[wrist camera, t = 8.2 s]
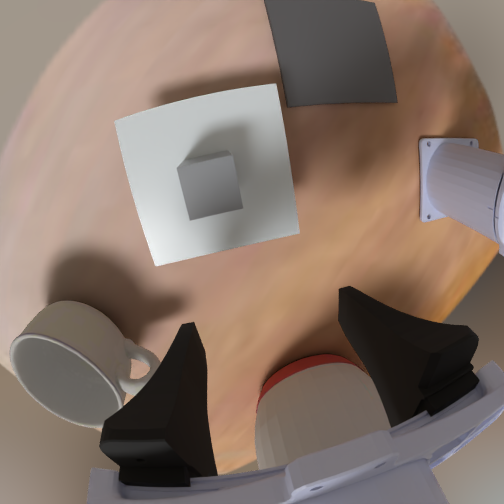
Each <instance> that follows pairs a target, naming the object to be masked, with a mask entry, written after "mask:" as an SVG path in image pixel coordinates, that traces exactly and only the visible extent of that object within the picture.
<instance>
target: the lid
mask: <svg viewBox="0 0 504 504" xmlns="http://www.w3.org/2000/svg"><path fill="white" fill-rule="evenodd" d="M114 122H115V127H116V131H117V136H118V140H119V145H120V149H121V153H122V157H123V161H124V165H125V169H126V173H127V177H128V180H129V184H130V188H131V191H132V195H133V198H134V201H135V205H136V208H137V212H138V215H139V218H140V221H141V224H142V228H143V231H144V234H145V237H146V240H147V243H148V246H149V249H150V252H151V254H152V257H153V260H154V263H155V266H160V265H164V264H168V263H172V262H177V261H181V260H185V259H190V258H194V257H198V256H202V255H207V254H211V253H215V252H220V251H224V250H228V249H233V248H237V247H242V246H246V245H250V244H255V243H259V242H263V241H268V240H272V239H277V238H281V237H286V236H290V235H294V234H299V233H300V232H299V224H298V216H297V208H296V201H295V194H294V186H293V180H292V173H291V166H290V160H289V153H288V147H287V141H286V135H285V129H284V123H283V118H282V112H281V107H280V101H279V96H278V91H277V86H276V84H267V85H259V86H252V87H245V88H239V89H233V90H227V91H222V92H216V93H211V94H207V95H202V96H197V97H193V98H189V99H185V100H181V101H177V102H173V103H169V104H166V105H162V106H158V107H155V108H152V109H148V110H145V111H142V112H139V113H136V114H133V115H130V116H127V117H124V118H121V119H118V120H115V121H114Z"/></svg>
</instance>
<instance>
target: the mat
mask: <svg viewBox="0 0 504 504" xmlns="http://www.w3.org/2000/svg"><path fill="white" fill-rule="evenodd" d="M264 3H265V7H266V11H267V15H268V19H269V23H270V27H271V31H272V35H273V40H274V44H275V49H276V53H277V58H278V63H279V67H280V72H281V77H282V82H283V87H284V92H285V98H286V103H287V108H288V107H297V106H307V105H319V104H335V103H364V102H386V103H398V102H397V96H396V89H395V83H394V78H393V72H392V67H391V62H390V58H389V53H388V49H387V45H386V41H385V37H384V33H383V29H382V25H381V22H380V19H379V15H378V12H377V9H376V6H375V3H373V2H367V1H361V0H264Z"/></svg>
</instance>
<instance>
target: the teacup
mask: <svg viewBox="0 0 504 504" xmlns="http://www.w3.org/2000/svg"><path fill="white" fill-rule="evenodd" d="M131 358H132V359H136V360H139V361H142V362H144V363H145V364H147V365H148V366H149V367H150V371H149V372H148V373H147V375H145V376H144V377H142V378H139V379H131V378H130V374H131ZM10 361H11V364H12V367H13V370H14V372H15V374H16V376H17V379H18V380H19V382H20V383H21V384H22V386H23V387H24V388H25V390H26V391H27V392H28V393H29V395H30V396H32V397H33V398H34V399H35V400H36V401H37V402H38V403H39V404H40V405H42V406H43V407H44V408H46V409H47V410H49V411H50V412H52V413H53V414H55V415H57V416H58V417H60V418H62V419H64V420H67V421H69V422H72V423H74V424H77V425H80V426H85V427H92V428H103V424H104V421H105V420H106V419H107V418H109V417H110V416H112V415H113V414H114V413H116V412H117V411H118V410H120V409H121V408H122V407H123V406H124V405H123V404H124V400H125V396H126V392H127V393H129V394H131V395H136V394H137V393H138V392H139V391H140V390H141V389H142V388H143V387H144V386H145V385H146V383H147V382H148V381H149V380H150V378H151V377H152V376H153V374H154V373H155V371H156V370H157V368H158V367H159V365H160V364H161V362H160V361H159V359H158V358H157V356H156V355H155V354H154V353H152V352H151V351H149V350H147V349H145V348H143V347H141V346H138V345H135V343H134V342H133V341H132V340H130V339H125V338H124V336H123V334H122V333H121V332H120V330H119V329H118V327H117V326H116V325H115V324H114V323H113V322H112V321H111V320H110V319H109V318H108V317H107V316H105V315H104V314H103V313H102V312H100V311H98V310H97V309H95V308H93V307H91V306H89V305H87V304H84V303H81V302H76V301H59V302H55V303H52V304H50V305H48V306H47V307H45V308H44V309H43V310H42V311H40V312H39V313H38V314H37V315H36V316H35V317H34V319H33V320H32V321H31V322H30V323H29V324H28V325H27V327H26V328H25V329H24V331H23V332H22V333H21V334H20V335H19V336H18V337H16V338H15V340H14V341H13V342H12V344H11V347H10Z"/></svg>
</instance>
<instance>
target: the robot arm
mask: <svg viewBox="0 0 504 504" xmlns="http://www.w3.org/2000/svg"><path fill="white" fill-rule="evenodd" d="M427 142H428V146H427ZM419 151H420V180H421V195H420V220H421V221H422V222H428V221H432V220H436V219H440V218H444V217H450V218H452V219H454V220H456V221H458V222H460V223H462V224H464V225H466V226H468V227H470V228H471V229H473V230H475V231H477V232H479V233H481V234H482V235H484V236H486V237H488V238H489V239H491V240H493V241H495V242H496V243H498V244H499V253H500V254H501V255H503V256H504V155H503V154H499V153H495V152H491V151H487V150H483V149H479V146H478V140H477V139H474V138H422V139H420V141H419ZM427 216H428V217H427ZM338 321H339V323H340V325H341V327H342V329H343V331H344V333H345V336H346V337H347V339H348V340H349V342H350V344H351V345H352V347H353V348H354V350H355V351H356V353H357V354H358V356H359V357H360V359H361V361H362V362H363V364H364V365H365V367H366V369H367V370H368V372H369V374H370V376H371V378H372V380H373V383H374V385H375V387H376V389H377V391H378V394H379V396H380V399H381V401H382V404H383V406H384V409H385V412H386V414H387V417H388V420H389V423H390V426H391V428H390V429H388V430H378V431H374V432H371V433H368V434H366V435H363V436H361V437H358V438H355V439H353V440H350V441H347V442H344V443H342V444H339V445H336V446H333V447H330V448H327V449H323V450H320V451H317V452H313V453H310V454H307V455H305V456H302V457H299V458H297V459H295V460H294V461H292V462H290V463H289V464H285V465H281V466H276V467H272V468H267V469H261V470H256V471H250V472H244V473H237V474H230V475H221V476H218V474H217V469H216V464H215V460H214V454H213V449H212V443H211V437H210V430H209V422H208V414H207V362H206V353H205V350H204V347H203V344H202V342H201V339H200V336H199V334H198V331H197V328H196V326H195V323H194V322H191V323H186V324H182V325H181V327H180V329H179V331H178V333H177V335H176V337H175V339H174V341H173V343H172V345H171V347H170V348H169V350H168V352H167V354H166V356H165V357H164V359H163V361H162V362H161V364H160V365H159V367H158V368H157V370H156V371H155V373H154V374H153V376H152V377H151V378H150V380H149V381H148V382H147V383H146V385H145V386H144V387H143V388H142V389H141V390H140V391H139V392H138V393H137V394H136V395H135V396H134V397H133V398H132V399H131V400H130V401H129V402H128V403H127V404H126V405H124V406H123V407H122V408H121V409H120V410H118V411H117V412H116V413H114V414H113V415H112V416H110V417H109V418H107V419H106V420H105V421H104V424H103V428H102V434H101V440H100V445H99V447H100V449H101V451H102V452H103V453H104V454H105V455H106V456H108V457H109V458H110V459H111V460H113V461H114V462H115V463H117V464H118V465H119V466H120V471H119V472H118V471H115V470H109V469H100V468H92V469H91V473H90V481H89V489H88V496H87V504H449V503H448V501H447V499H446V497H445V495H444V493H443V491H442V489H441V487H440V485H439V483H438V481H437V479H436V478H435V476H434V474H433V472H432V470H431V469H433V468H434V467H435V466H437V465H438V464H440V463H442V462H443V461H444V460H446V459H447V458H449V457H450V456H452V455H453V454H454V453H455V452H457V451H458V450H460V449H461V448H462V447H464V446H465V445H466V444H467V443H469V442H470V441H471V440H472V439H474V438H475V437H476V436H477V435H479V434H480V433H481V432H482V431H483V430H484V429H486V428H487V427H488V426H489V425H490V424H492V423H493V422H494V421H495V420H496V419H497V418H498V417H499V416H500V414H501V413H502V412H503V411H504V372H503V371H502V370H501V369H500V367H499V366H498V365H497V364H496V363H495V362H494V361H493V360H492V361H490V362H489V363H487V364H486V365H485V366H483V367H482V368H481V369H480V370H478V372H477V373H476V374H474V373H473V371H472V370H473V368H474V367H473V365H472V364H471V363H470V361H471V359H472V357H473V355H474V353H475V351H476V349H477V346H478V341H479V338H478V336H477V335H476V334H475V333H474V332H473V331H472V330H471V329H470V328H469V327H468V326H464V325H450V324H443V323H437V322H432V321H428V320H424V319H420V318H417V317H414V316H411V315H408V314H405V313H403V312H400V311H398V310H396V309H393V308H391V307H389V306H387V305H385V304H383V303H381V302H379V301H377V300H375V299H373V298H371V297H370V296H368V295H366V294H364V293H362V292H361V291H359V290H357V289H355V288H353V287H351V286H347V287H343V288H340V289H339V314H338Z"/></svg>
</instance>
